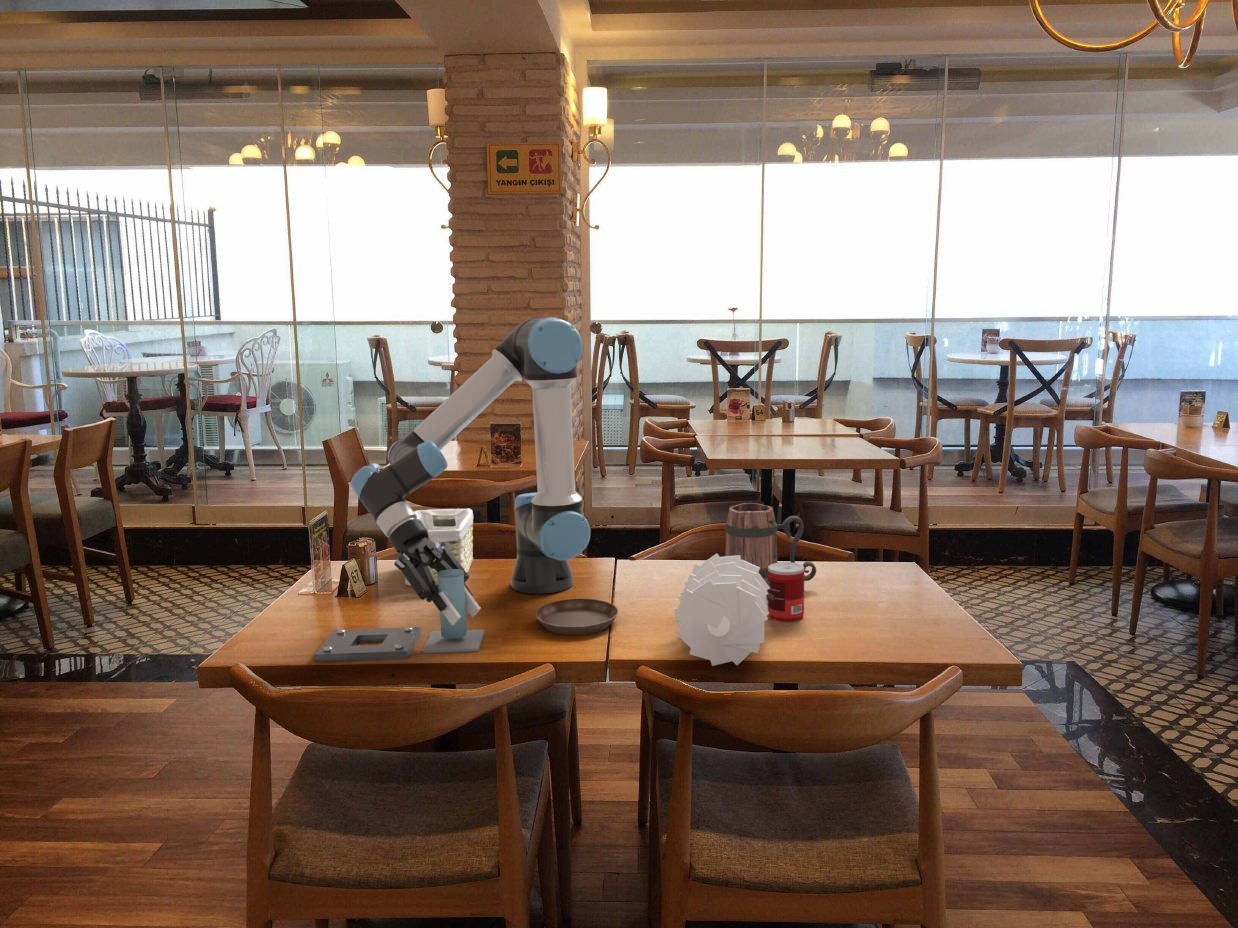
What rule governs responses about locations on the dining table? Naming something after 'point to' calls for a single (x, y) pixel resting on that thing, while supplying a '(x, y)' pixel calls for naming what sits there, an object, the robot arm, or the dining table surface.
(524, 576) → the robot arm
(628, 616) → the dining table surface
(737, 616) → the spiral staircase
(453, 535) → the storage basket
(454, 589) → the plug
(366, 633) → the flange plate
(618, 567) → the dining table surface
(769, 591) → the canned food
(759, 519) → the tankard
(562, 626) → the plant saucer
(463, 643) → the pad
